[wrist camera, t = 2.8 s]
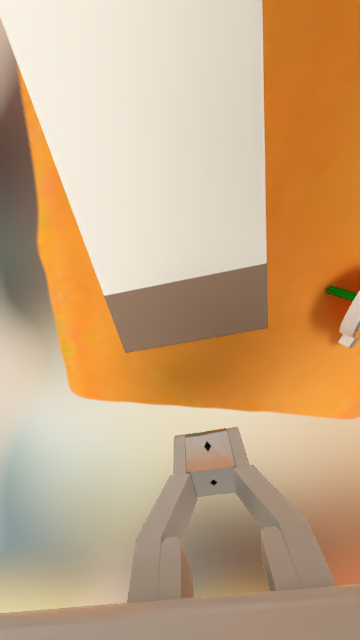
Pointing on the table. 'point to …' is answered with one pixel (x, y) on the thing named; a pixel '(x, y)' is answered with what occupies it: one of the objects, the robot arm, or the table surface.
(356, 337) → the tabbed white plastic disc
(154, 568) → the robot arm
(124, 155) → the lid
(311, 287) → the table surface
